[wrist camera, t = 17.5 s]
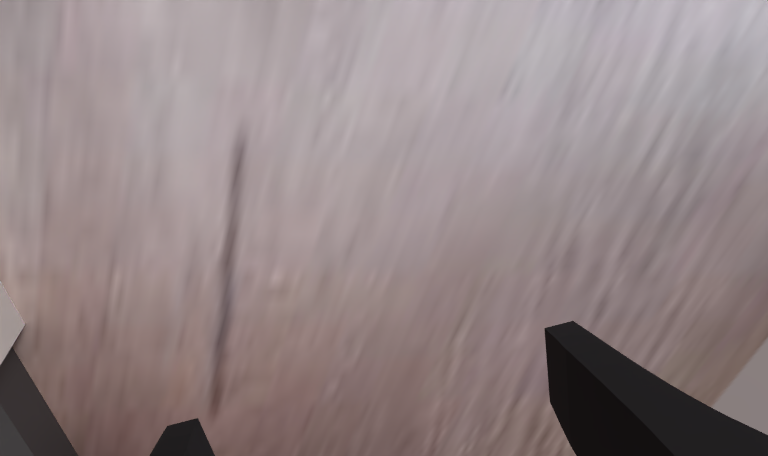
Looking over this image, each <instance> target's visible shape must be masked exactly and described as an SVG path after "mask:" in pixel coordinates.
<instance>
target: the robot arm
mask: <svg viewBox="0 0 768 456" xmlns="http://www.w3.org/2000/svg"><path fill="white" fill-rule="evenodd" d="M545 340H546V354H547V367H548V381H549V395H550V403H551V405H552V407H553V409H554V411H555V414H556V416H557V418H558V420H559V422H560V424H561V427H562V429H563V431H564V433H565V435H566V437H567V439H568V441H569V443H570V445H571V447H572V449H573V450H574V452H575V454H576V455H577V456H768V435H766V434H764V433H762V432H760V431H758V430H755V429H753V428H751V427H749V426H747V425H745V424H743V423H741V422H739V421H737V420H734V419H732V418H730V417H728V416H726V415H724V414H722V413H720V412H718V411H716V410H714V409H713V408H711V407H709V406H707V405H705V404H703V403H702V402H700V401H698V400H696V399H694V398H693V397H691V396H689V395H687V394H685V393H684V392H682V391H680V390H679V389H677V388H675V387H673V386H672V385H670V384H668V383H667V382H665V381H664V380H662V379H660V378H659V377H657V376H656V375H654V374H652V373H651V372H649V371H647V370H646V369H644V368H643V367H641V366H640V365H638V364H636V363H635V362H633V361H632V360H630V359H629V358H627V357H626V356H624V355H623V354H621V353H620V352H618V351H617V350H615V349H614V348H612V347H611V346H609V345H608V344H606V343H605V342H603V341H602V340H601V339H599V338H598V337H596V336H595V335H593V334H592V333H590V332H589V331H587V330H586V329H584V328H583V327H581V326H580V325H578V324H577V323H575V322H574V321H571V322H567V323H563V324H559V325H555V326H552V327H548V328H545ZM150 456H215V455H214V453H213V451H212V448H211V446H210V444H209V442H208V440H207V437H206V435H205V433H204V431H203V429H202V426H201V424H200V422H199V420H198V418H197V419H193V420H189V421H185V422H181V423H177V424H173V425H170V426H167V428H166V429H165V431H164V432H163V434H162V436H161V437H160V439H159V441H158V442H157V444H156V446H155V447H154V449H153V451H152V453H151V454H150Z"/></svg>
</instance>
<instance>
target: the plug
mask: <svg viewBox="0 0 768 456" xmlns="http://www.w3.org/2000/svg"><path fill="white" fill-rule="evenodd" d="M24 326H25V322H24V321H23V319H22V317H21V315H20V314H19V312H18V310H17V309H16V307H15V305H14V303H13V302H12V300H11V298H10V297H9V295H8V293H7V291H6V290H5V288H4V286H3V284H2V283H1V281H0V456H78V455H77V453H76V452H75V450H74V448H73V447H72V445H71V443H70V442H69V440H68V438H67V437H66V435H65V433H64V432H63V430H62V428H61V427H60V425H59V423H58V422H57V420H56V419H55V417H54V415H53V414H52V412H51V410H50V409H49V407H48V405H47V404H46V402H45V400H44V399H43V397H42V395H41V394H40V392H39V391H38V389H37V387H36V386H35V384H34V382H33V381H32V379H31V377H30V376H29V374H28V372H27V371H26V369H25V367H24V366H23V364H22V362H21V361H20V359H19V358H18V356H17V354H16V353H15V351H14V349H13V348H12V345H13V344H14V342H15V341H16V339H17V337H18V336H19V334H20V332H21V331H22V329H23V327H24Z"/></svg>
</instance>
